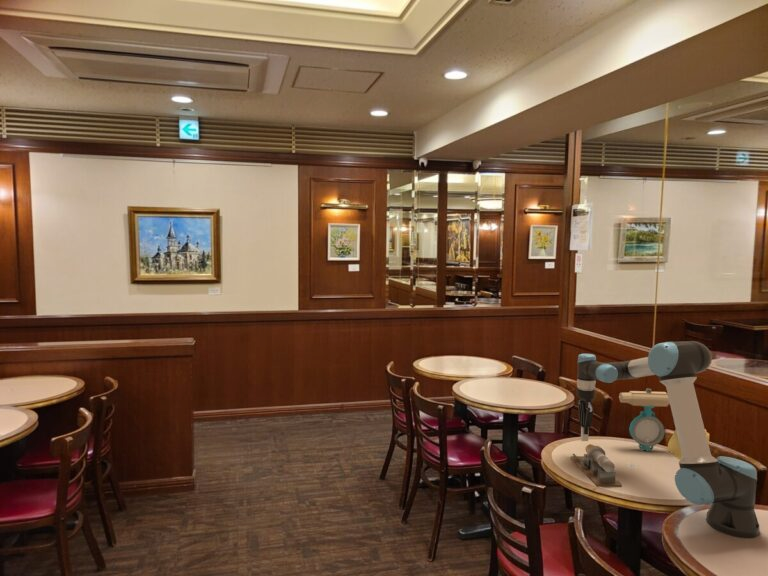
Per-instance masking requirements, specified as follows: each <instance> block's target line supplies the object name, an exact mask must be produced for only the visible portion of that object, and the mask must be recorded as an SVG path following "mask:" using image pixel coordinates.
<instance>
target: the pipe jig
mask: <svg viewBox="0 0 768 576" xmlns="http://www.w3.org/2000/svg"><path fill="white" fill-rule="evenodd" d="M594 446H595V447H592V448H591V449H590V450H589V452H588V458H589V460H590V461H591V467H590V469H588V468H587V467H586V466H585V465H584V455H583V456H580V455H579V456H578V455H576V454H575V453H572V456H570V459H571V460H572V461H573V463H575V465H577V467H578V468H579V469H580V470H581V471H582V473H584V475H585V476H587V478H588V479H589V480H590V481H591V482H592V483H593V484H594V485H595V486H596V487H598V488H599V487H604V488H605V487H608V488H609V487H611V488H613V487H614V488H622V487H623V485H622V483H621V482H620V481H619V480H618V479H617V478H616V477H617V475H616V474H617V471H616V470H615V467H616V465H615V464H614V462H613V461H612V460H611V459H609V458H608V457H607V455H606V451H605V450H604V449H603V448H602V447H601V446H599V445H594ZM598 446H599V447H598Z"/></svg>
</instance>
